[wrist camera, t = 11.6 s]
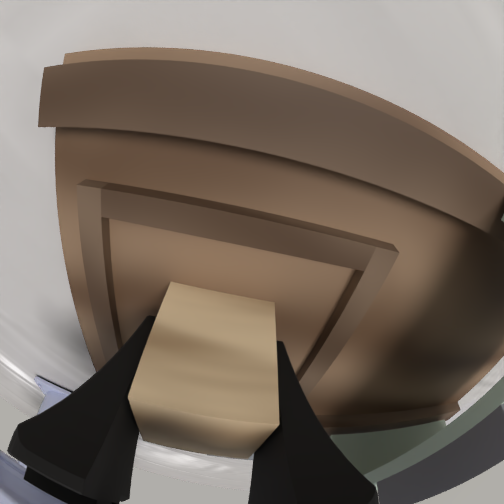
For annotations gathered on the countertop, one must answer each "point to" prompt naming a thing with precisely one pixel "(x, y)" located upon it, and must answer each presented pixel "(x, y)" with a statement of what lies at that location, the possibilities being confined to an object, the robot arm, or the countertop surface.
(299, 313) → the puzzle board
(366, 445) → the cover
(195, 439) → the block
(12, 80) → the countertop surface
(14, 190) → the countertop surface
